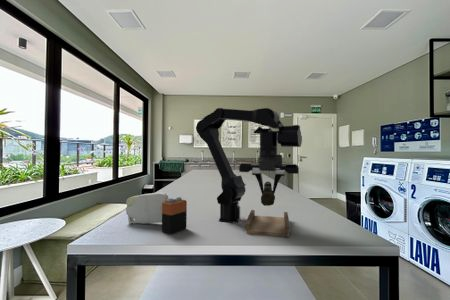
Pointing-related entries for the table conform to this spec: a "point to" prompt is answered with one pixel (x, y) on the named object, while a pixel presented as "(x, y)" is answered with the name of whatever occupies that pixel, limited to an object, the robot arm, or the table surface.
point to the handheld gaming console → (146, 208)
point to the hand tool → (267, 195)
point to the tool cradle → (267, 225)
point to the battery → (174, 215)
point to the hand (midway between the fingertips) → (268, 194)
